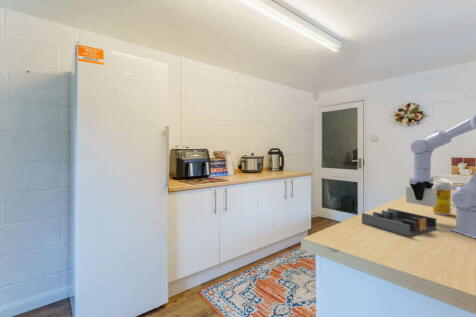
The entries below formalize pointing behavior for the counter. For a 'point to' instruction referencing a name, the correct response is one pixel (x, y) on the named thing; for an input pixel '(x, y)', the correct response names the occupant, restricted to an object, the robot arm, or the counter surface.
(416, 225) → the rack
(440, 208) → the beer can
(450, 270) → the counter surface
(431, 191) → the white rectangular block
